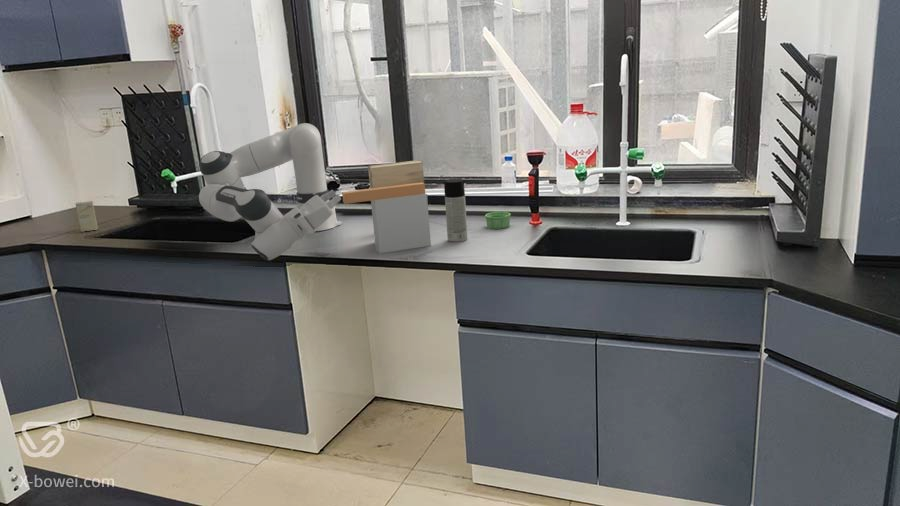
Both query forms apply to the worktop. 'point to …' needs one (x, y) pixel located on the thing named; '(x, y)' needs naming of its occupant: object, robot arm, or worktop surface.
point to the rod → (383, 192)
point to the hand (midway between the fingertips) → (337, 194)
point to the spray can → (455, 210)
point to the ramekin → (498, 220)
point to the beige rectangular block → (396, 174)
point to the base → (401, 223)
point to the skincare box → (86, 216)
